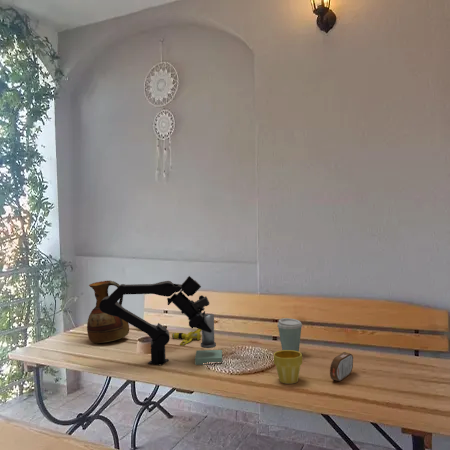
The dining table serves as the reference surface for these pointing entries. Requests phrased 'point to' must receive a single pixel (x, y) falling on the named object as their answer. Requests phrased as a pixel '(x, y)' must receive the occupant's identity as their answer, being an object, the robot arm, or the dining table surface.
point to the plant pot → (288, 365)
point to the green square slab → (208, 356)
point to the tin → (341, 366)
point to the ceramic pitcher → (105, 318)
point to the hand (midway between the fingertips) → (211, 330)
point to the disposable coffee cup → (289, 333)
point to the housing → (206, 336)
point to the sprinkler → (187, 336)
